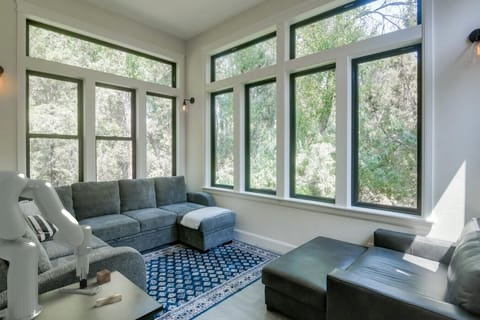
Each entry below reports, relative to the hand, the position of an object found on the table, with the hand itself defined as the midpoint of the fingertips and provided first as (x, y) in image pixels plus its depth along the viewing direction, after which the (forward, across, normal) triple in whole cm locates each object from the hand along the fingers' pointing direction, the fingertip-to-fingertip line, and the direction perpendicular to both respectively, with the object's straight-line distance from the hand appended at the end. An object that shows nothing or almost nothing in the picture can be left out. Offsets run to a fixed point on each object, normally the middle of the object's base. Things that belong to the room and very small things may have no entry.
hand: (83, 286), depth 128 cm
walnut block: (+1, -2, +9) cm, 9 cm away
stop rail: (0, +22, +10) cm, 24 cm away
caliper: (0, 0, -1) cm, 1 cm away
